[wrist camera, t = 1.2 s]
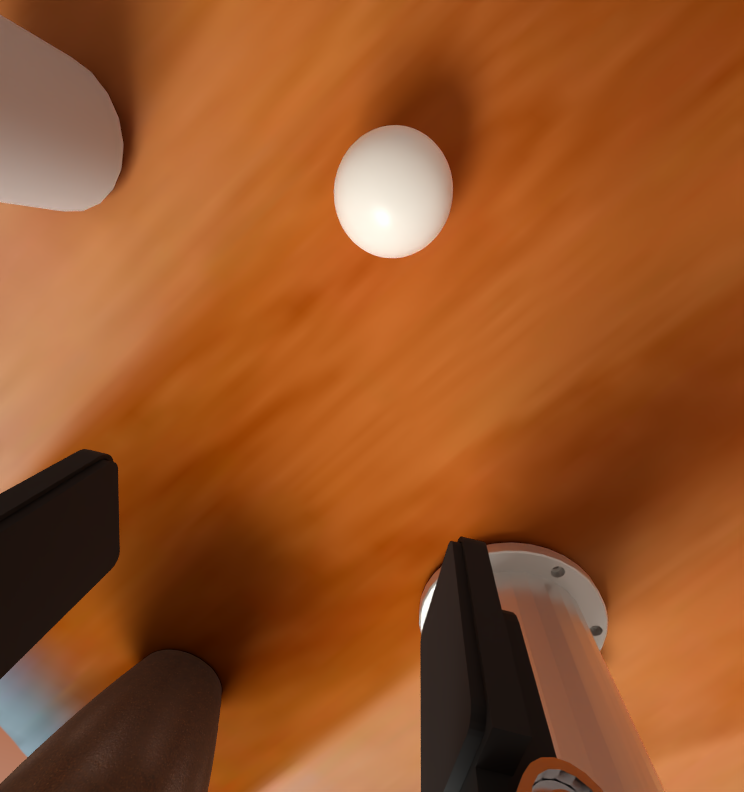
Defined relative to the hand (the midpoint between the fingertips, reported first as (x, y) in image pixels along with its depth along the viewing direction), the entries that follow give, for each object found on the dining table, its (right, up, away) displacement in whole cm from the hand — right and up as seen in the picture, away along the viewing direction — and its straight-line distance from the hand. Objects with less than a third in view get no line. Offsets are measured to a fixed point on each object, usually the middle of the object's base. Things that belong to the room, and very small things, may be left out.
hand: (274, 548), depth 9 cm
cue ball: (+3, +13, +9) cm, 16 cm away
